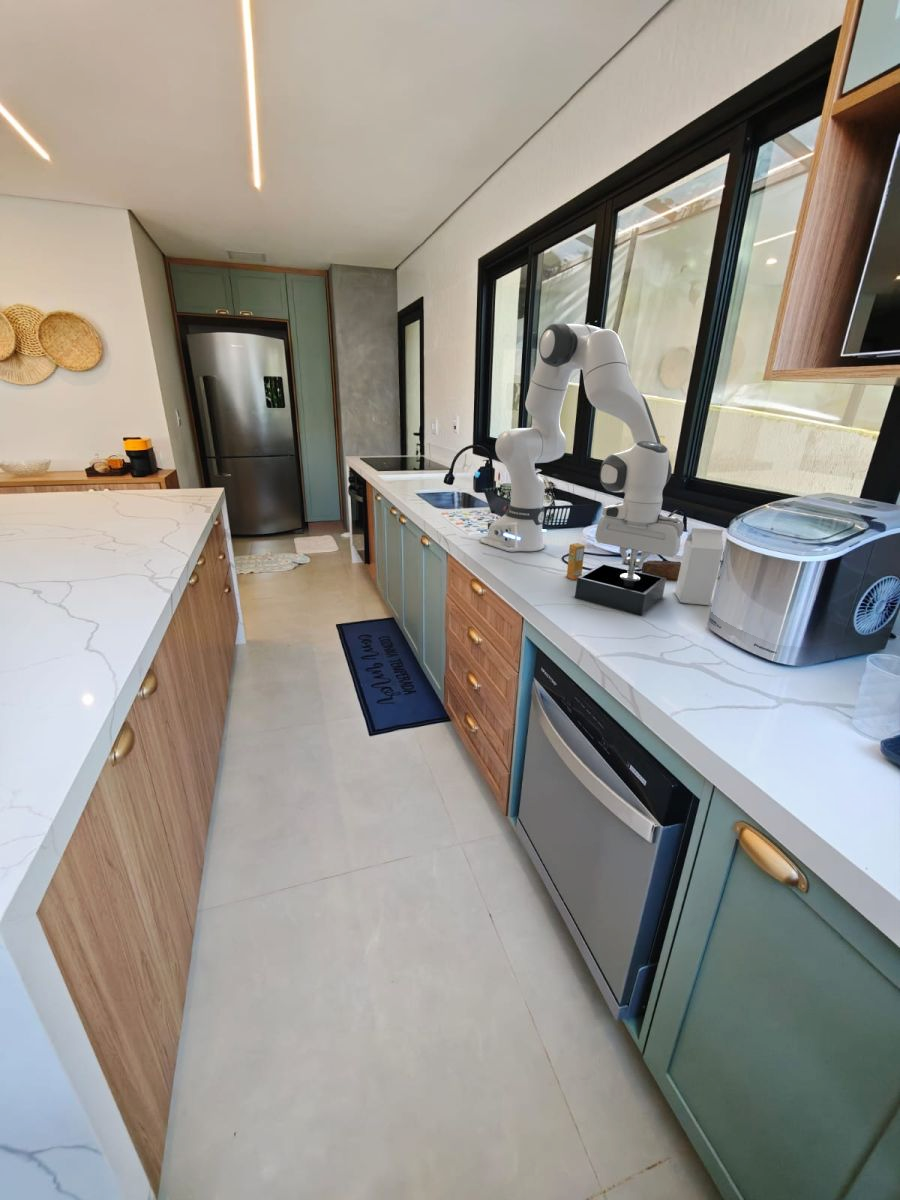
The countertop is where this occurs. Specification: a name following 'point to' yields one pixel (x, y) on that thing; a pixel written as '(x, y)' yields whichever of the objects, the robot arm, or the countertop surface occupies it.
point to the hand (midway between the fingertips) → (631, 565)
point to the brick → (662, 569)
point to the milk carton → (699, 566)
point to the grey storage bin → (620, 589)
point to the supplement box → (575, 561)
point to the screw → (631, 570)
